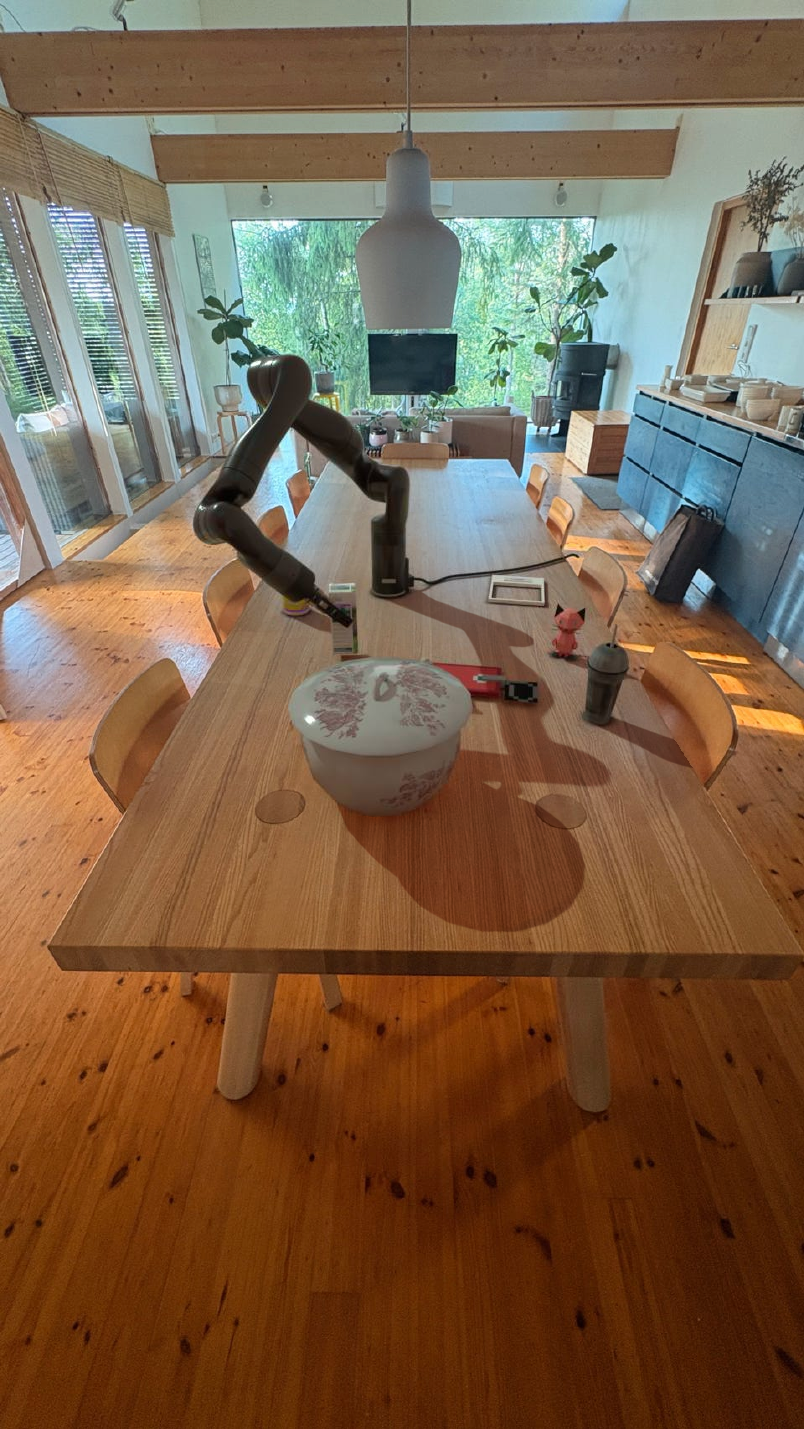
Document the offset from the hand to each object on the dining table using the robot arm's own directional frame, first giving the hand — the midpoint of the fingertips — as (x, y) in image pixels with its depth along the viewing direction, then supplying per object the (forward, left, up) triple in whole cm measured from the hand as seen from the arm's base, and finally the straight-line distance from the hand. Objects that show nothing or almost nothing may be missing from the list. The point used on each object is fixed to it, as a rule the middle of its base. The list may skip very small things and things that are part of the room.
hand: (342, 617), depth 135 cm
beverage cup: (-32, +46, -10) cm, 57 cm away
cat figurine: (-44, +23, -10) cm, 51 cm away
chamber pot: (+13, +44, -10) cm, 47 cm away
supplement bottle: (0, -29, -10) cm, 30 cm away
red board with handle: (-16, +24, -10) cm, 31 cm away
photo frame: (-58, -12, -9) cm, 60 cm away
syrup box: (0, 0, -8) cm, 8 cm away
